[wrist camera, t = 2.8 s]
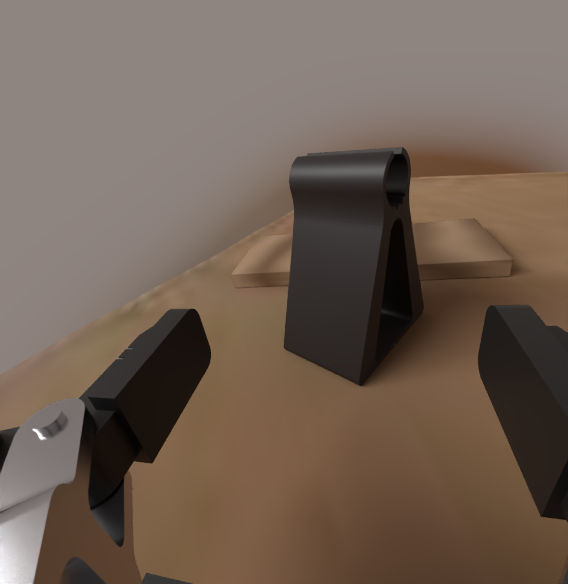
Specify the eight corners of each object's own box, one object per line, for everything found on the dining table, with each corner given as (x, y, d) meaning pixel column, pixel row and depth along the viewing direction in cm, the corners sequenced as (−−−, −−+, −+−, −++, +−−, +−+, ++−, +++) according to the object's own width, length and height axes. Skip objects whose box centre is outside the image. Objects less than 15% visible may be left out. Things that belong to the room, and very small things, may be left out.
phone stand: (354, 292, 27) (344, 141, 21) (424, 311, 23) (435, 133, 18) (284, 351, 22) (246, 173, 16) (358, 388, 18) (344, 171, 12)
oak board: (473, 232, 34) (475, 218, 33) (509, 276, 25) (513, 259, 25) (261, 248, 40) (258, 236, 39) (234, 287, 32) (231, 274, 31)
